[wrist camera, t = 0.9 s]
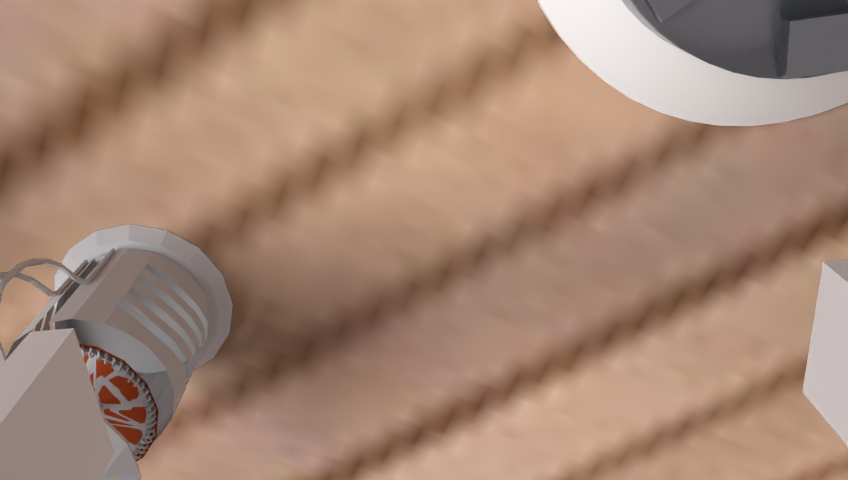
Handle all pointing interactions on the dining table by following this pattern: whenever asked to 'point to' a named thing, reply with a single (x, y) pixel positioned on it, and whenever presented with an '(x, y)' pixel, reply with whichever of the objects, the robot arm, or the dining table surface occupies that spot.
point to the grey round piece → (754, 34)
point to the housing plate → (682, 71)
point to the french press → (135, 327)
